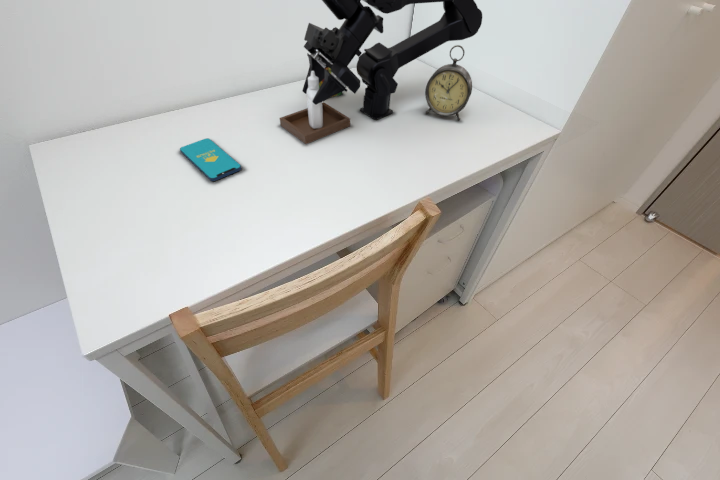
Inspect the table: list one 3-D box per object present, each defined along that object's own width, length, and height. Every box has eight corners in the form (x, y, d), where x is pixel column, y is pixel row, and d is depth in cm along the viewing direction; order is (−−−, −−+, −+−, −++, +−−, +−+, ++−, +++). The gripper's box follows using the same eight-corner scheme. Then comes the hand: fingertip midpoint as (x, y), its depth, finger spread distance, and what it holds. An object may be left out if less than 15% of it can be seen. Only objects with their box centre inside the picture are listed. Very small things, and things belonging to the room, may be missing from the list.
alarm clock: (420, 115, 92) (433, 44, 80) (425, 106, 96) (438, 37, 83) (461, 124, 90) (481, 53, 78) (465, 115, 93) (485, 45, 81)
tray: (324, 109, 93) (323, 102, 91) (350, 126, 88) (350, 118, 86) (280, 125, 87) (279, 117, 85) (305, 144, 82) (305, 136, 80)
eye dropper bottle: (303, 128, 86) (298, 75, 76) (311, 117, 89) (307, 65, 80) (320, 130, 85) (317, 77, 76) (328, 119, 88) (326, 67, 79)
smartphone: (208, 136, 81) (242, 165, 74) (209, 140, 82) (243, 169, 75) (177, 148, 78) (210, 179, 71) (179, 151, 78) (212, 182, 72)
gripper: (308, -6, 75) (267, 59, 80) (348, 20, 65) (298, 93, 70) (341, 32, 84) (303, 89, 89) (381, 61, 73) (334, 123, 79)
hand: (308, 97), depth 81 cm, fingers closed on eye dropper bottle, 5 cm apart
